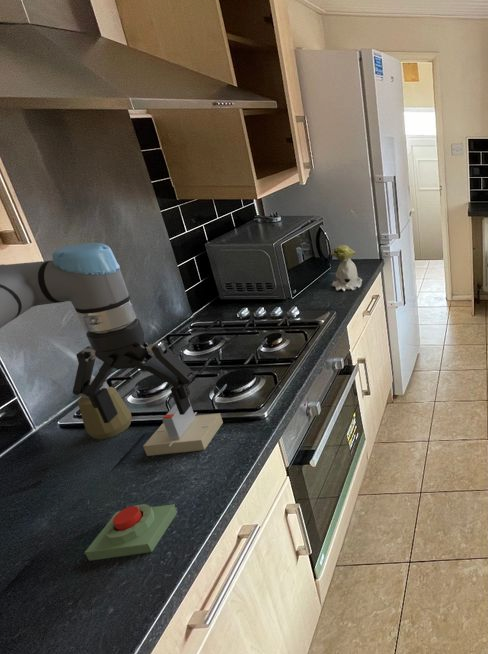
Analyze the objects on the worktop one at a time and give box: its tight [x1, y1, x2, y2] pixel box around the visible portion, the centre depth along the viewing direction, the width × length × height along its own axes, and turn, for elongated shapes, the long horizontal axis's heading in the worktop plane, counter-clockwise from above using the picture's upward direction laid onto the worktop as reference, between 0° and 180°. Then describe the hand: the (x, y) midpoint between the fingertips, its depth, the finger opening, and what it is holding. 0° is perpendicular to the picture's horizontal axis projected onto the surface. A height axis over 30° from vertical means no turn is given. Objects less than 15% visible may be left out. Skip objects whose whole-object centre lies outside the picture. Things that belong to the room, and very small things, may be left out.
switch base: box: [143, 411, 224, 457], centre depth 99 cm, size 12×11×3 cm
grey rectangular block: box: [162, 397, 196, 440], centre depth 97 cm, size 7×2×6 cm, turn 10°
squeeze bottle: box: [77, 374, 132, 440], centre depth 97 cm, size 8×8×18 cm
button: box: [113, 505, 142, 531], centre depth 76 cm, size 4×4×2 cm
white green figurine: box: [330, 244, 363, 292], centre depth 180 cm, size 12×13×18 cm
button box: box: [84, 503, 178, 562], centre depth 77 cm, size 10×8×4 cm
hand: (148, 414), depth 86 cm, fingers open, 13 cm apart
